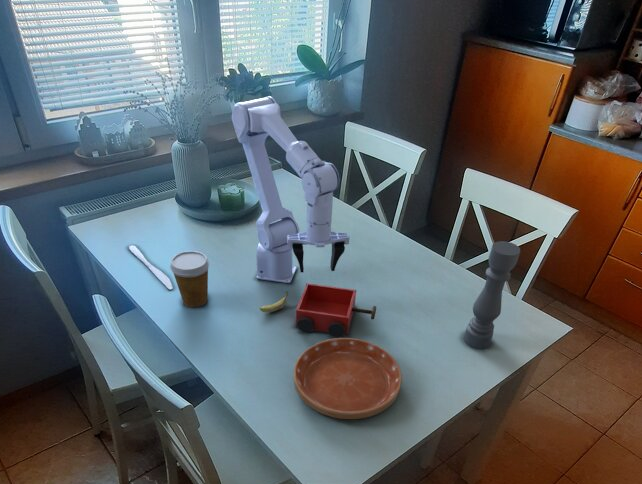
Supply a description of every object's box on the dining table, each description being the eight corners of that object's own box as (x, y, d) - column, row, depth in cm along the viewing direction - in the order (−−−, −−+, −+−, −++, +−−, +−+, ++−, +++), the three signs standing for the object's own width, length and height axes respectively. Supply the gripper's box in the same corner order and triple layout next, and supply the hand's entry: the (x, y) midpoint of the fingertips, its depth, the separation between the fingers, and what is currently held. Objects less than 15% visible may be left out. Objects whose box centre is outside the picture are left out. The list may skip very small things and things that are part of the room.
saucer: (320, 438, 100) (321, 426, 98) (278, 364, 116) (277, 352, 113) (420, 405, 107) (423, 393, 105) (367, 339, 123) (369, 327, 120)
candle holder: (485, 352, 120) (517, 259, 103) (459, 342, 122) (486, 250, 105) (493, 337, 124) (525, 246, 107) (468, 328, 126) (495, 237, 109)
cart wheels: (296, 331, 125) (296, 318, 122) (309, 297, 135) (309, 284, 132) (370, 342, 122) (371, 329, 119) (377, 307, 132) (379, 294, 129)
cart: (295, 327, 126) (296, 310, 122) (306, 299, 134) (306, 282, 130) (347, 335, 124) (348, 318, 120) (354, 307, 132) (356, 289, 128)
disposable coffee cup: (220, 293, 135) (215, 253, 127) (203, 314, 129) (197, 273, 121) (187, 286, 138) (181, 246, 129) (169, 306, 131) (161, 266, 123)
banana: (286, 302, 133) (286, 290, 130) (290, 306, 132) (290, 293, 129) (259, 313, 129) (258, 300, 127) (262, 316, 128) (262, 303, 126)
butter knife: (136, 243, 153) (127, 245, 151) (177, 287, 137) (167, 290, 136) (137, 245, 153) (127, 247, 152) (177, 289, 137) (167, 292, 136)
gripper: (288, 228, 114) (289, 280, 124) (353, 226, 116) (348, 277, 125) (286, 213, 119) (286, 264, 129) (348, 211, 121) (344, 261, 130)
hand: (317, 269), depth 127 cm, fingers open, 7 cm apart
